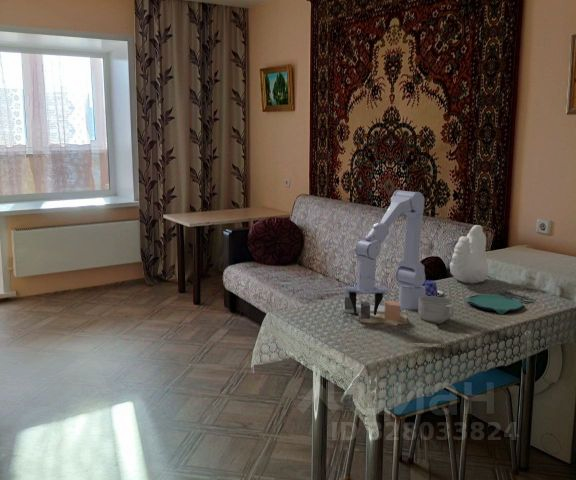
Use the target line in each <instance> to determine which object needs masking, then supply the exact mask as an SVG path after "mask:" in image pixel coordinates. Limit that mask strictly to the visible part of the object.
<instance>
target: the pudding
mask: <svg viewBox="0 0 576 480" xmlns="http://www.w3.org/2000/svg"><path fill="white" fill-rule="evenodd" d="M422 286H424V287H425V290H426V295H430V296H434V295H435V296H436V295H437V296H436V297H441V296H442V295H443V294H444V292H443V291H442V290H439V289H438V288H437V283H436V281H435V280H432V279H431V280H430V279H425V281H424V283H423V285H422ZM438 293H439V295H438Z"/></svg>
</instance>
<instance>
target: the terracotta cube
mask: <svg viewBox="0 0 576 480" xmlns="http://www.w3.org/2000/svg"><path fill="white" fill-rule="evenodd" d="M383 304H384V305H383V306H384V318H385V320H400V315H401V308H400V303H399V301H396V300H384V301H383Z"/></svg>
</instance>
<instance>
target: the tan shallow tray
mask: <svg viewBox="0 0 576 480" xmlns="http://www.w3.org/2000/svg"><path fill="white" fill-rule="evenodd" d="M360 305H361V313H359V315H358V317H359V318H358V320H359V321H358V323H359V322H360V323H363V322H364V323H363V324H384V323H388V324H397V325H408V323H409V321H408V317H407V315H406V314H400V320H385V318H384V314H376V315H374V314H370V305H371V302H370V301H360Z"/></svg>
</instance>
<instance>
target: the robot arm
mask: <svg viewBox="0 0 576 480" xmlns="http://www.w3.org/2000/svg"><path fill="white" fill-rule="evenodd" d="M424 210H425V197H424V195H423V194H422V192H419V191H410V190H409V191H408V190H401V189H397V190H394V192H393V194H392V196H391V197H390V205H389V206H388V208H387V210H386V212H385V213H384V215H383V216H382V218H381V220H380V222H376V223H374V224H373V225H372V227H371V229H370V230H369V231H368V233H367V234H366V236H365V237H364V239H362V240H359V241H358V242H357V243H356V246H355V248H354V252H355V255H356V260H357V261H358V262H357V263H358V264H357V285H353V286H344V294H345V293H346V294H347V293H349V297H350V300H351V302H352V305H353V308H354V313H353V315H354V316H356V315H357V314H356V305H357V294H361V295H362V294H363V295H364V294H365V295H366V294H367V295H374V315H376V313H377V309H378V306H379V305H380V304H381V302H382V300H383V298H384V296H383V295H385V296H388V293H389V290H388V288H387V287H380V286H375V285H376V284H375V283H376V281H375V280H376V258H377V257H378V256H379V255H380V251H381V248H382V243H383V242H384V241H385V240H386V238H387V237H388V235H389V234H390V230H389V229H390V226H391V225H393V223H394V222H395V221H396V220H397V218H398V217H399V216H400V215H401V214H402V213H403V214H404V215H405V216H406V224H405V225H406V228H405V238H404V248H403V249H404V251H403V259H402V260H400V261H399V262H398V263H397V268H396V270H395V274H394V277H395V281H396V282H397V285H399V290H398V293H399V295H398V297H399V298H398V302H399V303H400V309H403V310H410V311H411V310H418V307H419V297H422V296H426V290H425V287H424V286H422V285H423V283H424V281H425V280H426V274H425V267H426V266H424V264H422V262H421V261H420V259H419V258H420V250H421V249H420V246H421V239H422V238H421V236H422V235H421V234H422V227H423V226H422V225H423V224H422V223H423V216H424Z"/></svg>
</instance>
